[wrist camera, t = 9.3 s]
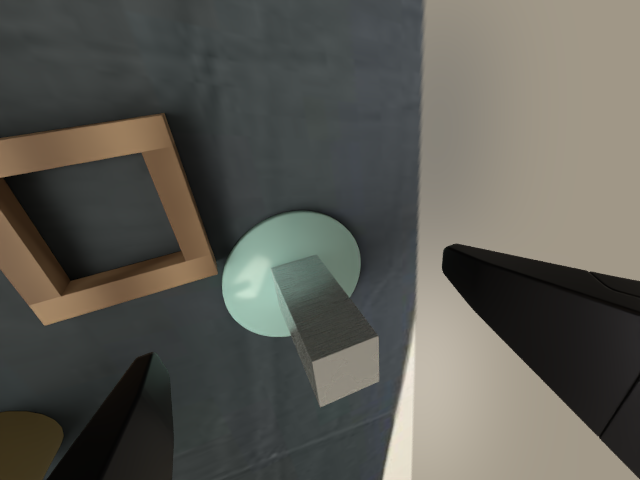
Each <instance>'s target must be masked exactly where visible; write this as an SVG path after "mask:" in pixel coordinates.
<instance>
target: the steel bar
mask: <svg viewBox="0 0 640 480" xmlns="http://www.w3.org/2000/svg"><path fill="white" fill-rule="evenodd" d="M271 272H272V277H273V281H274V286H275V290H276V295H277V299H278V304H279V307H280V309H281V312H282V314H283V317H284V319H285V322H286V324H287V327H288V329H289V332H290V334H291V337H292V339H293V342H294V344H295V347H296V349H297V352H298V354H299V357H300V359H301V361H302V364H303V366H304V369H305V371H306V374H307V376H308V379H309V381H310V384H311V386H312V389H313V391H314V394H315V396H316V399H317V401H318V404H319V406H320V407H322V406H324V405H327V404H329V403H331V402H333V401H336V400H338V399H340V398H342V397H345V396H347V395H349V394H351V393H354V392H356V391H358V390H361V389H363V388H365V387H367V386H370V385H372V384H374V383H376V382H379V341H378V335H377V333H376V332H375V331H374V329H373V328H372V327H371V325H370V324H369V323H368V321H367V320H366V319H365V317H364V316H363V315H362V314H361V312H360V311H359V310H358V308H357V307H356V306H355V304H354V303H353V302H352V300H351V299H350V298H349V296H348V295H347V294H346V292H345V291H344V290H343V288H342V287H341V286H340V284H339V283H338V282H337V281H336V279H335V278H334V277H333V275H332V274H331V273H330V271H329V270H328V269H327V267H326V266H325V265H324V263H323V262H322V261H321V259H320V258H319V257H318V255H317V254H316V255H312V256H309V257H306V258H302V259H299V260H295V261H292V262H289V263H285V264H282V265H278V266H275V267H272V268H271Z"/></svg>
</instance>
